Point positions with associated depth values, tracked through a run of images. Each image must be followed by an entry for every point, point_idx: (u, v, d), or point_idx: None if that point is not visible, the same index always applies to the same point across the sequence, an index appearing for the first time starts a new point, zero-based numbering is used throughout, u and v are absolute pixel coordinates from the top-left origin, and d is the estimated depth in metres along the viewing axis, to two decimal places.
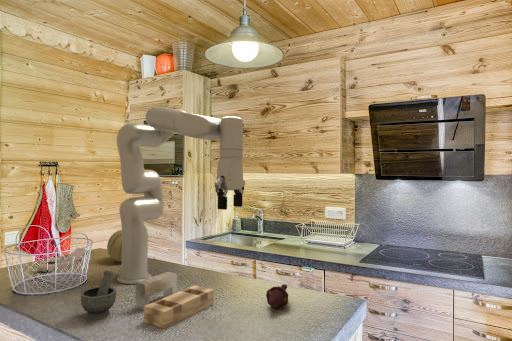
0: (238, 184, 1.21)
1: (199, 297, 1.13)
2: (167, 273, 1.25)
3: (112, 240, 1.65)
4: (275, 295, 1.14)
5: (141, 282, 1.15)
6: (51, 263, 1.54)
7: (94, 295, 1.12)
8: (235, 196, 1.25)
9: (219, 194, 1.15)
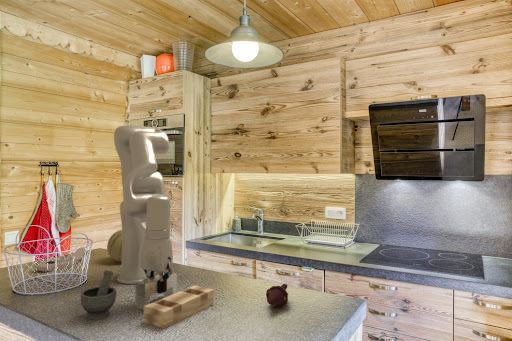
0: None
1: (199, 297, 1.13)
2: None
3: (112, 240, 1.65)
4: (274, 294, 1.14)
5: (141, 282, 1.15)
6: (50, 263, 1.54)
7: (94, 295, 1.12)
8: None
9: (166, 278, 1.18)
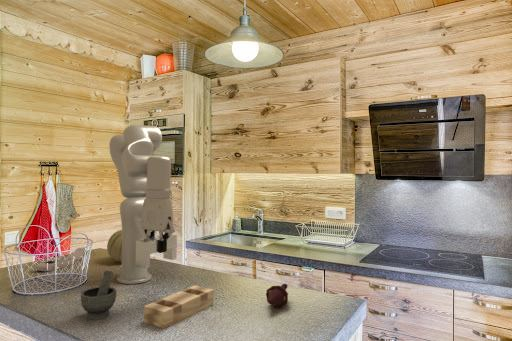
0: None
1: (199, 297, 1.13)
2: None
3: (112, 240, 1.65)
4: (274, 294, 1.15)
5: (141, 241, 1.15)
6: (50, 263, 1.55)
7: (94, 295, 1.12)
8: None
9: (166, 238, 1.18)
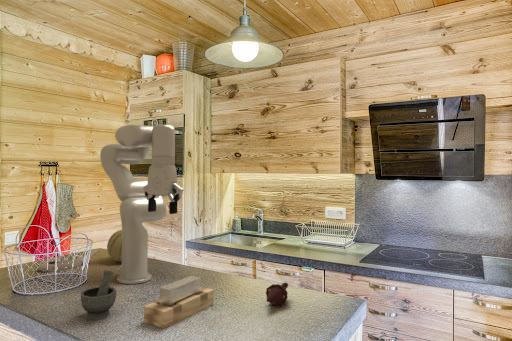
0: None
1: (199, 297, 1.13)
2: (191, 277, 1.17)
3: (112, 240, 1.65)
4: (273, 292, 1.16)
5: (165, 287, 1.07)
6: (52, 263, 1.54)
7: (94, 295, 1.12)
8: (151, 201, 1.27)
9: (177, 199, 1.22)
